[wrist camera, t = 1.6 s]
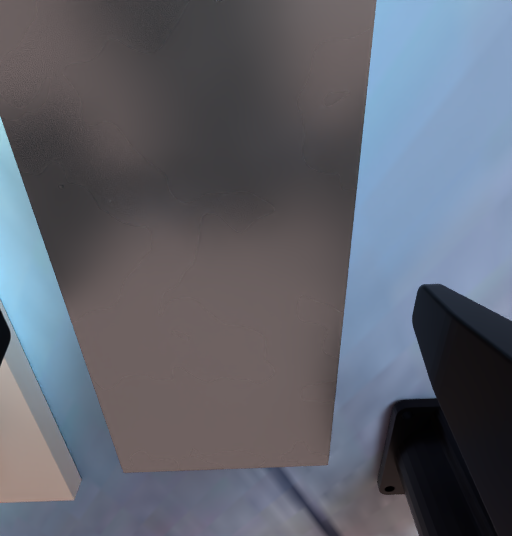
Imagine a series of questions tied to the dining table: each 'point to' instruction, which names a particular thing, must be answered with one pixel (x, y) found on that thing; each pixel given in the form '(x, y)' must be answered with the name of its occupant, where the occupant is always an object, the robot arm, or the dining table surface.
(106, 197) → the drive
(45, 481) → the white peg board
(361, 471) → the dining table surface
